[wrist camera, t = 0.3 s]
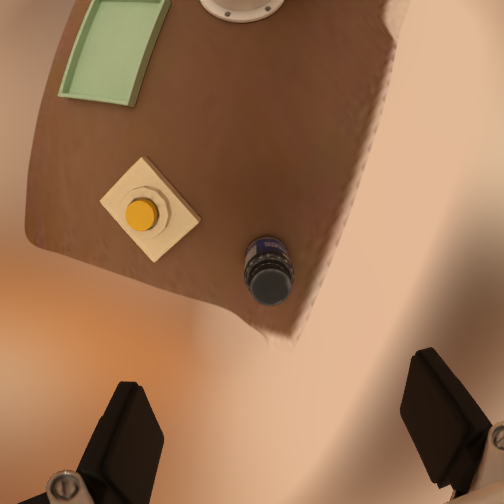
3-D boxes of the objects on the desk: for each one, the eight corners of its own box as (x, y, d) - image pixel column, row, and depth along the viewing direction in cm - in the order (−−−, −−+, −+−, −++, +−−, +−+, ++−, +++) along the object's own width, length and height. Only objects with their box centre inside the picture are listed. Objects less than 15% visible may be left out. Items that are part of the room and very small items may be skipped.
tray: (134, 107, 39) (127, 105, 36) (67, 98, 38) (57, 96, 35) (171, 3, 34) (167, -5, 31) (101, 0, 33) (94, -6, 30)
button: (124, 212, 40) (119, 214, 38) (144, 192, 39) (139, 194, 38) (143, 233, 41) (139, 237, 39) (163, 214, 40) (160, 217, 39)
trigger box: (105, 198, 43) (93, 203, 39) (146, 156, 41) (136, 157, 37) (158, 257, 46) (150, 267, 42) (201, 219, 44) (197, 225, 40)
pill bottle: (295, 248, 46) (308, 278, 35) (273, 282, 47) (280, 320, 37) (258, 227, 45) (261, 252, 34) (237, 263, 46) (233, 297, 36)
